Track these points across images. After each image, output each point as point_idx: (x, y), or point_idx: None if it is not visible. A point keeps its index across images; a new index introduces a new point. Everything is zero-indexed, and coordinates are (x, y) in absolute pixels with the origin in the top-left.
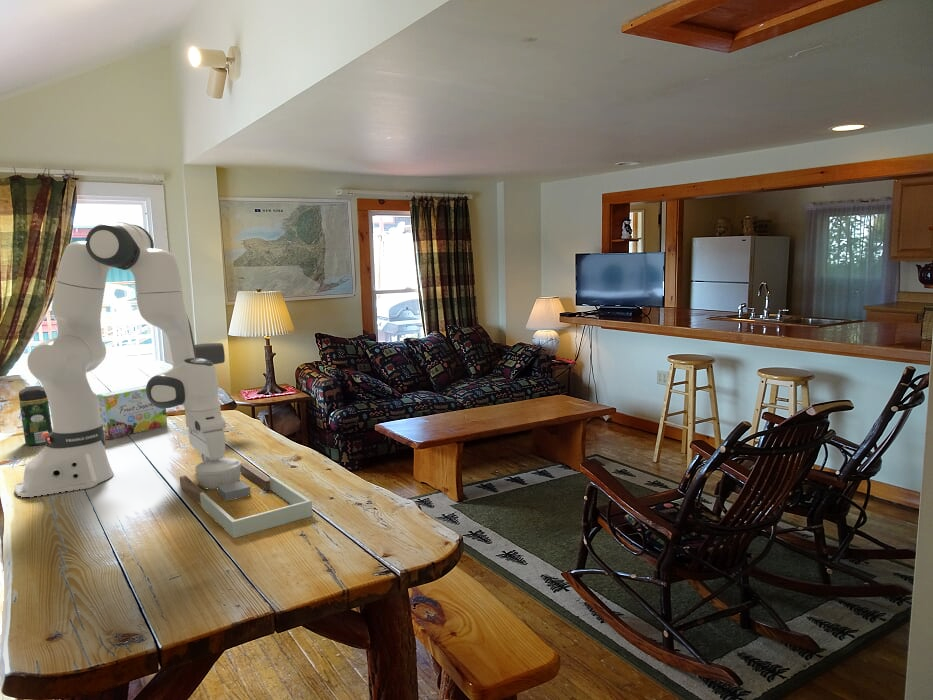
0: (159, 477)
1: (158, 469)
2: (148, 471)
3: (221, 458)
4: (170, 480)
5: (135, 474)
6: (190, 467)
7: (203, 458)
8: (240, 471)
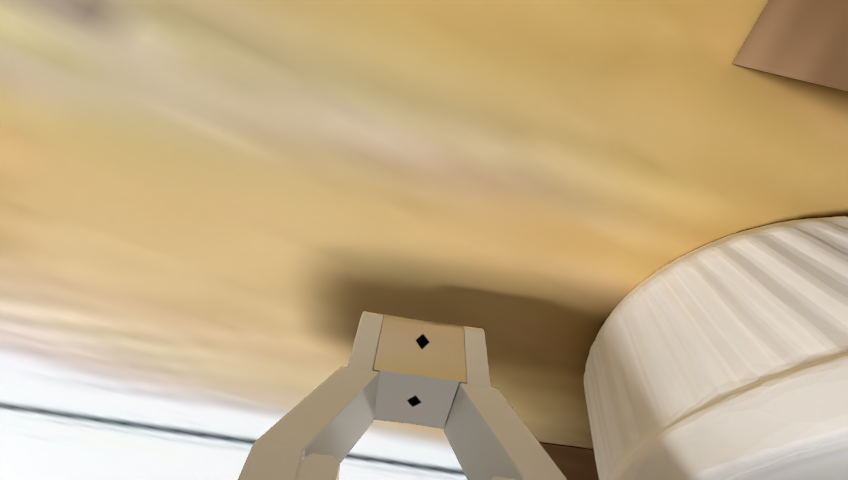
0: (241, 449)
1: (51, 407)
2: (73, 439)
3: (778, 470)
4: None
5: (105, 473)
6: (103, 294)
7: (345, 448)
8: (757, 68)
